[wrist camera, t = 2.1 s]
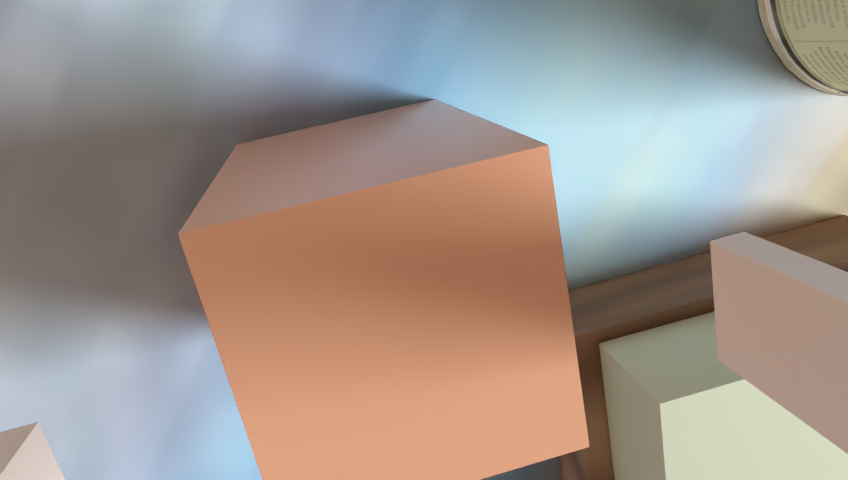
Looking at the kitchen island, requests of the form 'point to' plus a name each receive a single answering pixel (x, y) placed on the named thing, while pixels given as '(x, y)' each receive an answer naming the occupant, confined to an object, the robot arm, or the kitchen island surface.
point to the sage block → (701, 414)
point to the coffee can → (810, 40)
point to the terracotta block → (391, 298)
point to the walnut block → (659, 322)
